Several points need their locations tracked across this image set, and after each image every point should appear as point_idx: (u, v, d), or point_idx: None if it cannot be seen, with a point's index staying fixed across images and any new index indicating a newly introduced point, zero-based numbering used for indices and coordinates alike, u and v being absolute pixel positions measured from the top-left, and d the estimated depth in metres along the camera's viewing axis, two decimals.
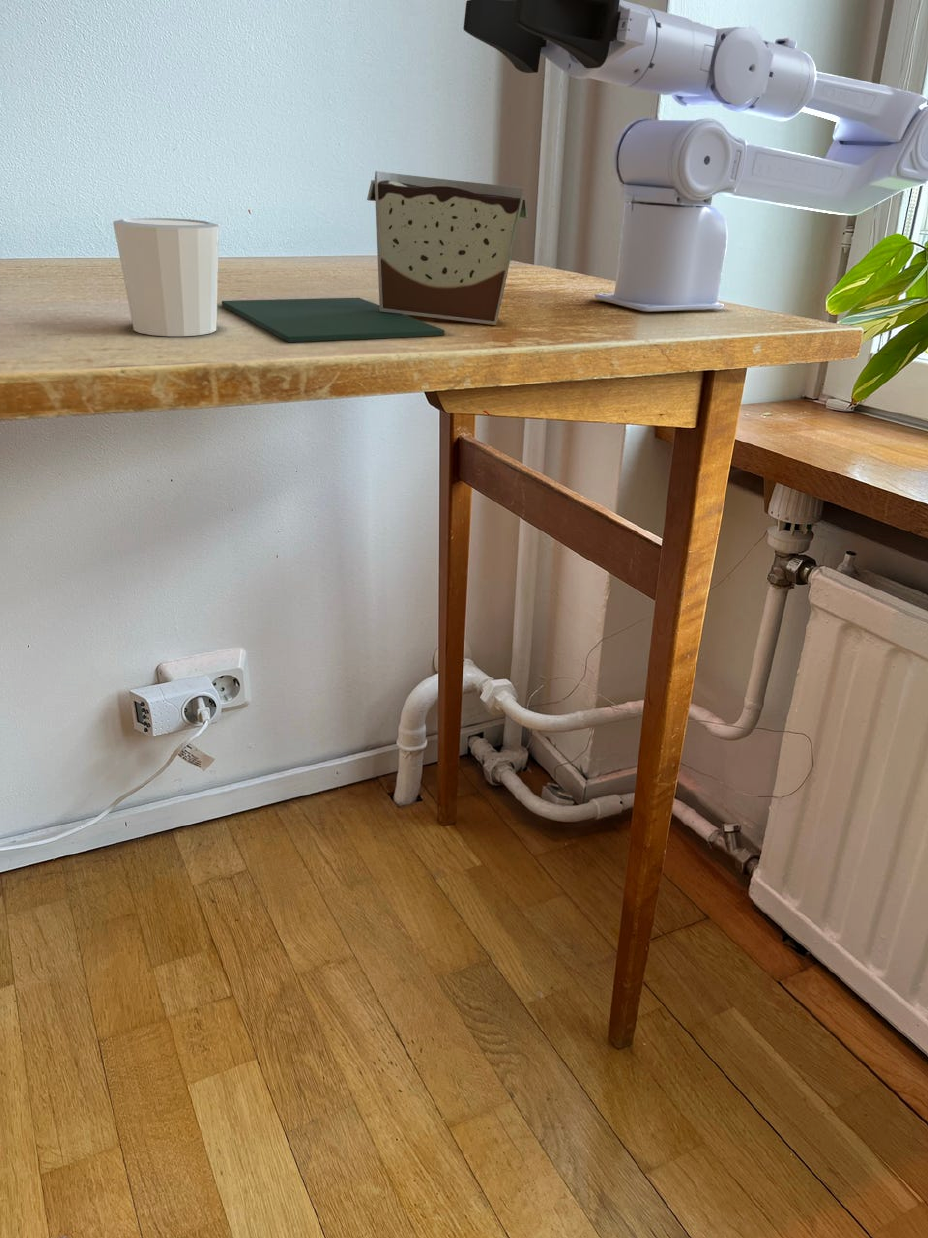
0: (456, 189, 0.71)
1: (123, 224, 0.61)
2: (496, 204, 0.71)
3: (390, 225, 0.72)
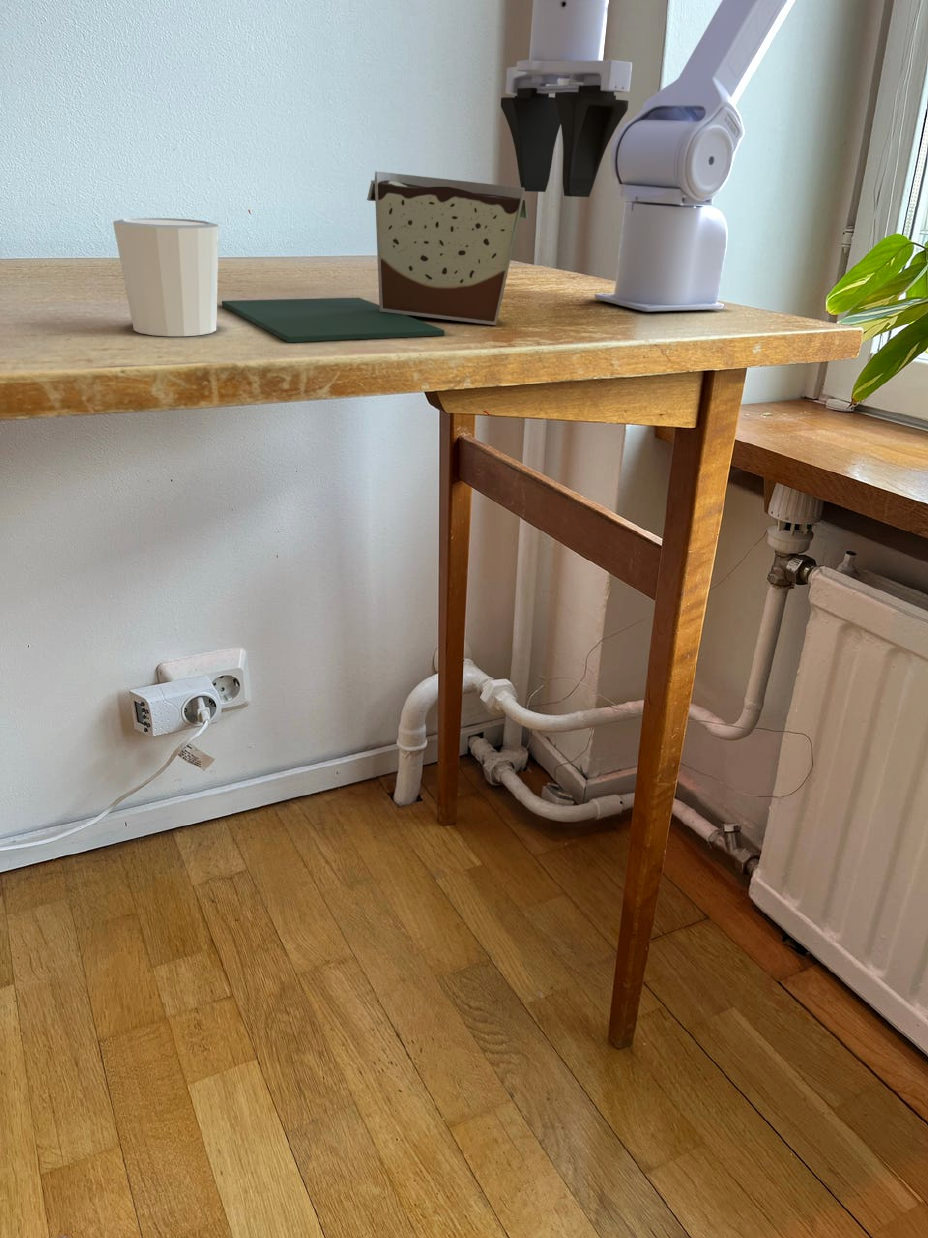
0: (456, 189, 0.71)
1: (123, 224, 0.61)
2: (496, 204, 0.71)
3: (390, 226, 0.72)
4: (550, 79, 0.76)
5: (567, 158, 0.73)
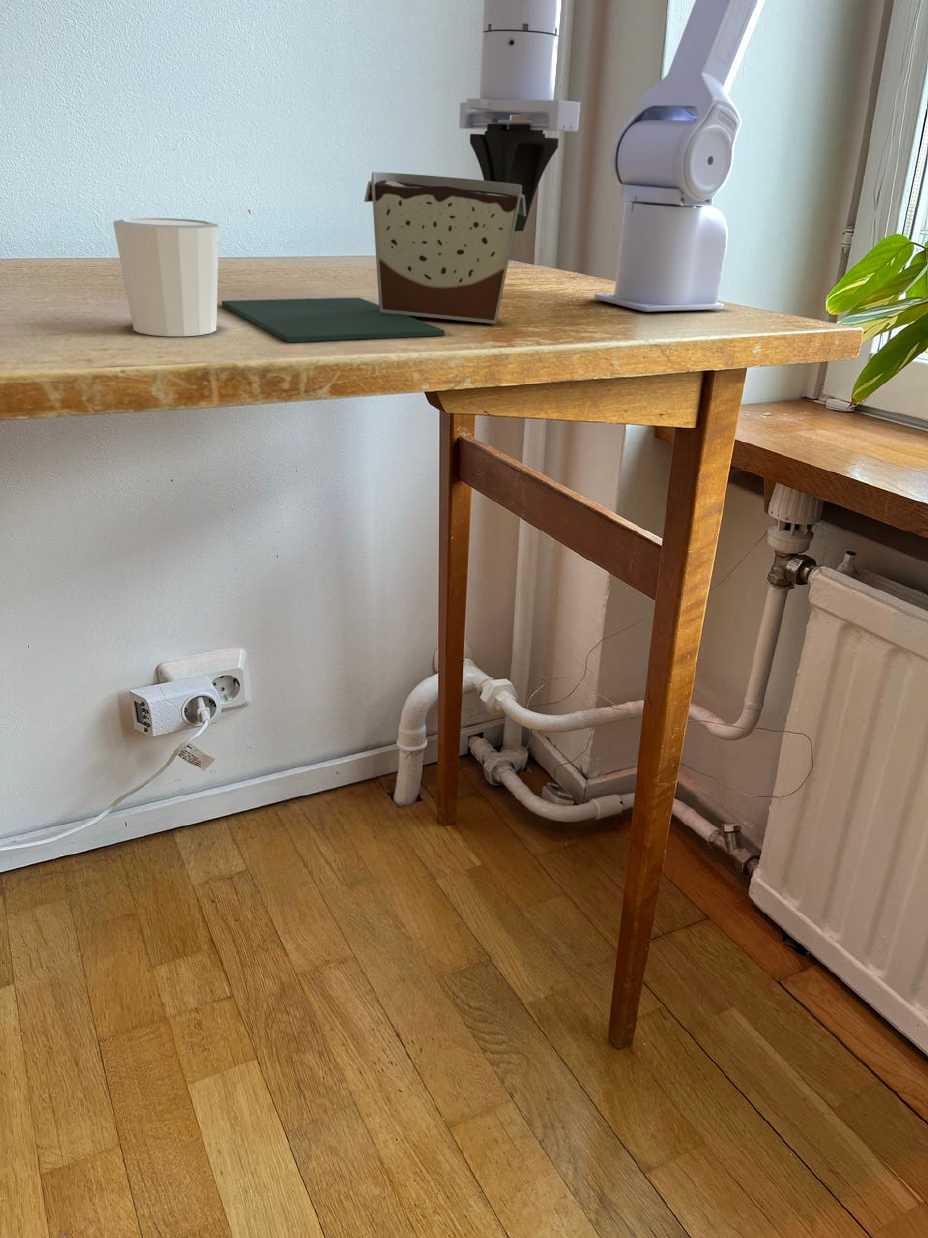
0: (453, 188, 0.71)
1: (123, 224, 0.61)
2: (494, 203, 0.71)
3: (388, 226, 0.72)
4: (502, 115, 0.75)
5: None
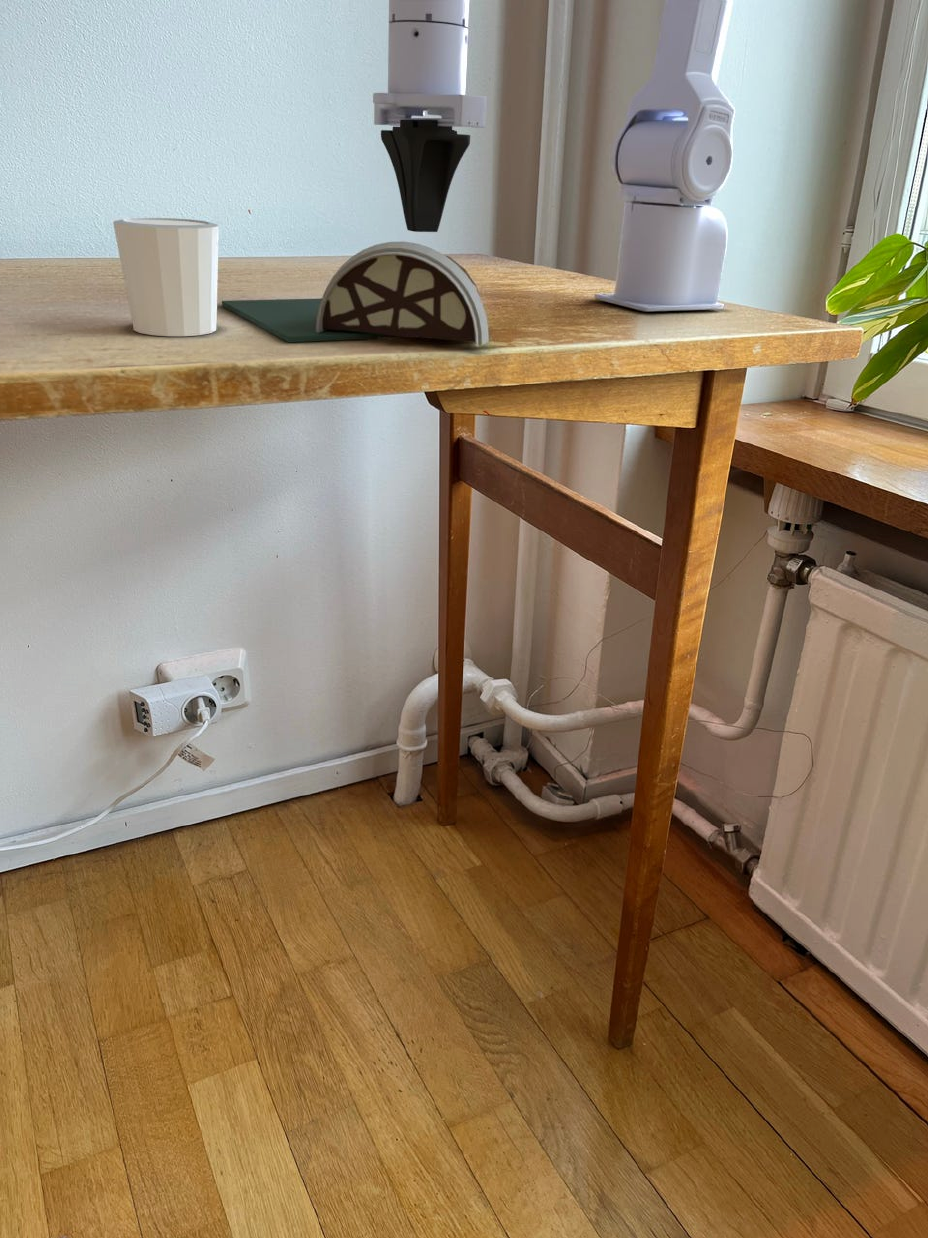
0: (405, 336, 0.65)
1: (123, 224, 0.61)
2: None
3: None
4: (414, 111, 0.72)
5: (409, 193, 0.71)
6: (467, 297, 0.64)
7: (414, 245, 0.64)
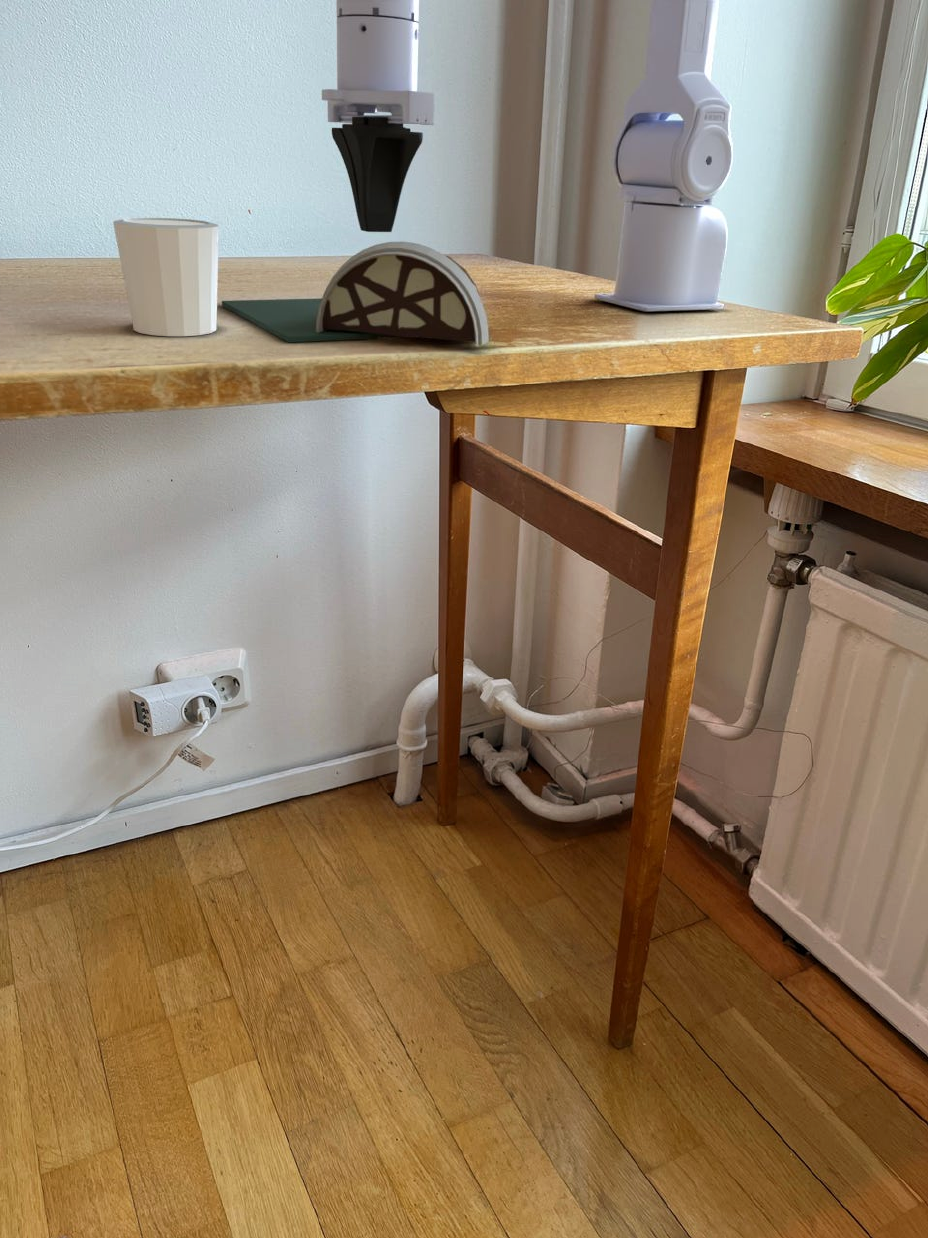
0: (405, 336, 0.65)
1: (123, 224, 0.61)
2: None
3: None
4: (366, 108, 0.70)
5: (361, 192, 0.70)
6: (467, 297, 0.64)
7: (414, 245, 0.64)
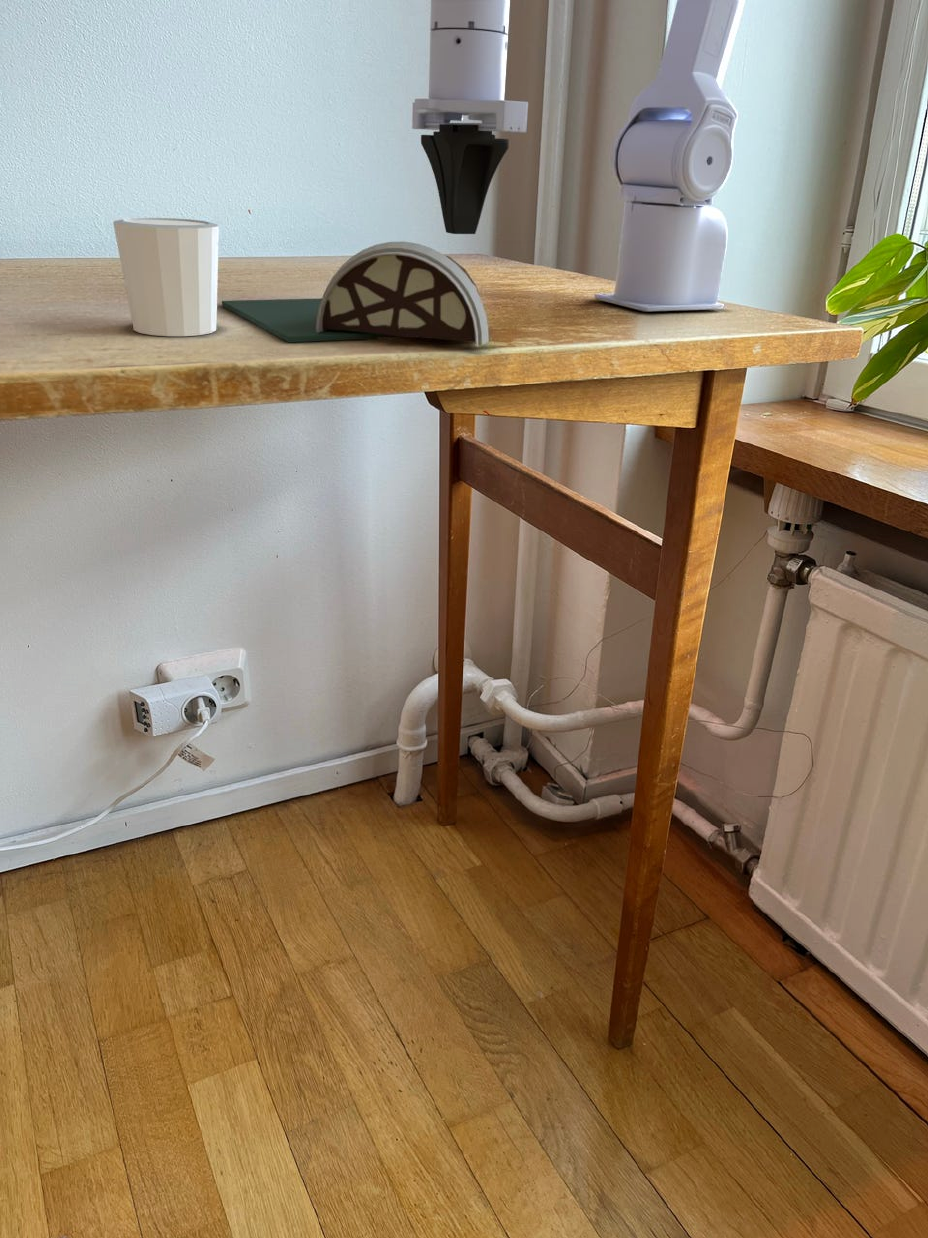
0: (405, 336, 0.65)
1: (123, 224, 0.61)
2: None
3: None
4: (453, 116, 0.73)
5: (449, 196, 0.73)
6: (467, 297, 0.64)
7: (414, 245, 0.64)
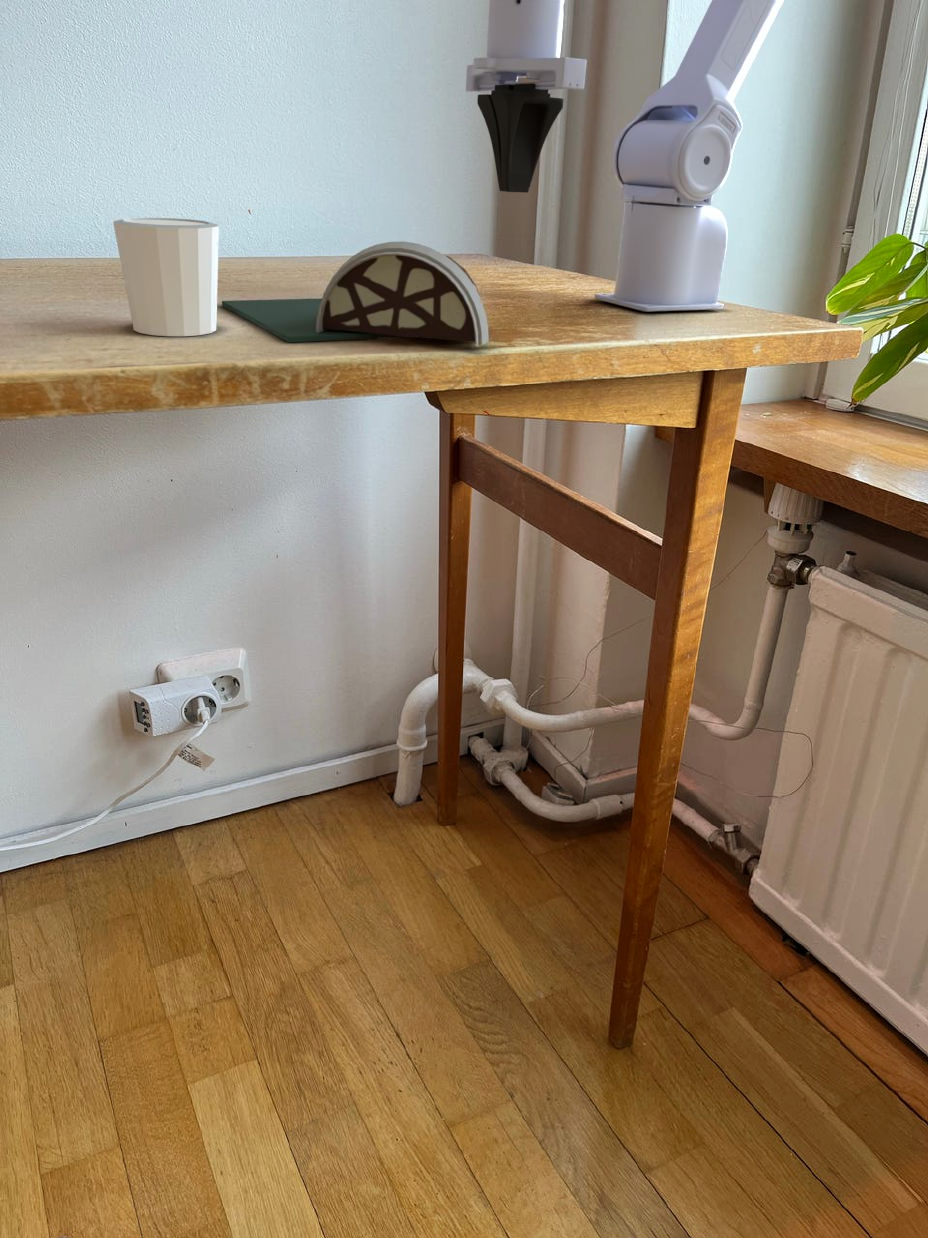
0: (405, 336, 0.65)
1: (123, 224, 0.61)
2: None
3: None
4: (508, 77, 0.76)
5: (505, 154, 0.75)
6: (467, 297, 0.64)
7: (414, 245, 0.64)
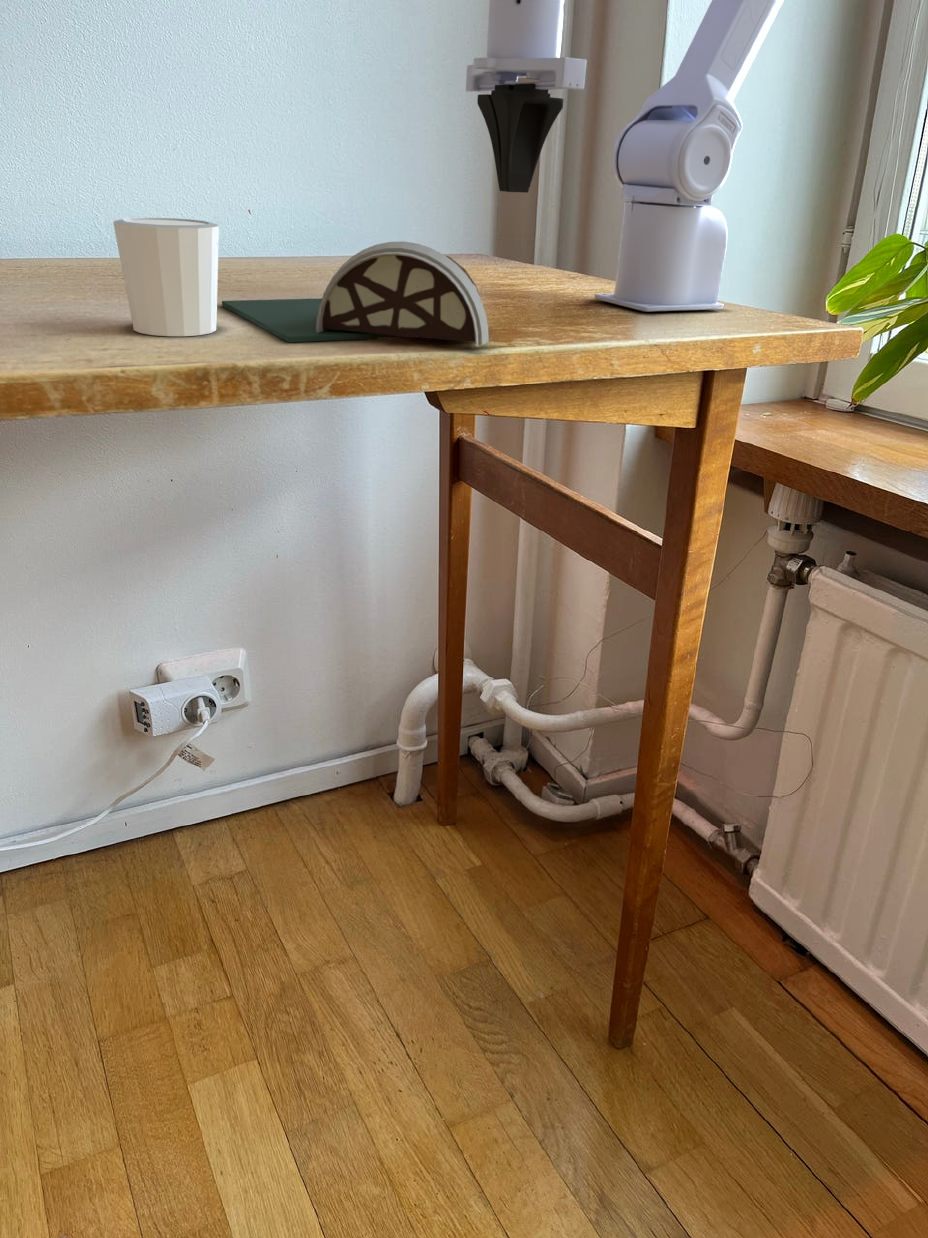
0: (405, 336, 0.65)
1: (123, 224, 0.61)
2: None
3: None
4: (508, 77, 0.76)
5: (505, 154, 0.75)
6: (467, 297, 0.64)
7: (414, 245, 0.64)
